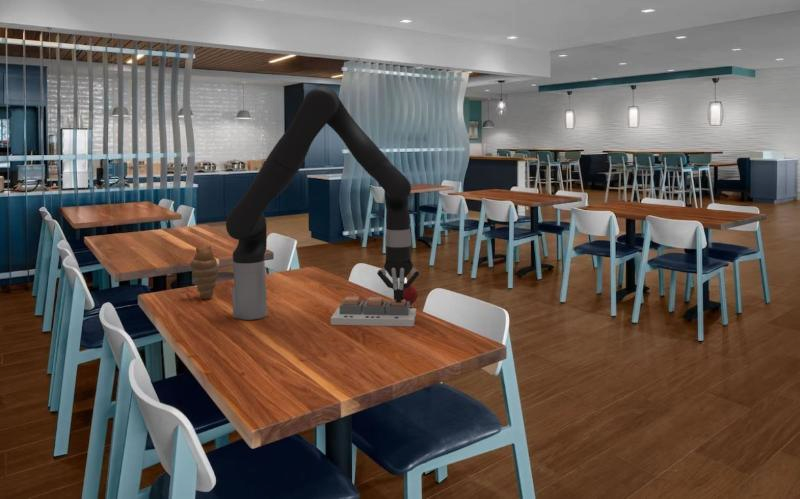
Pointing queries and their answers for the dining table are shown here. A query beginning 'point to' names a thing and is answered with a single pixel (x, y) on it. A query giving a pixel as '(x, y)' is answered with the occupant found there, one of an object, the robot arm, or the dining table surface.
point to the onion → (410, 294)
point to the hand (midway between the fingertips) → (398, 301)
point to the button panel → (374, 315)
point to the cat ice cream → (204, 271)
